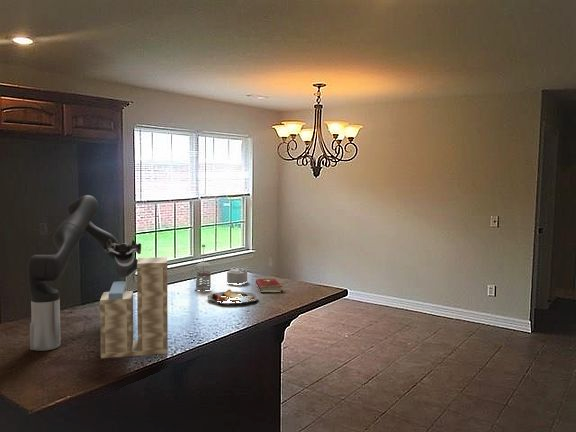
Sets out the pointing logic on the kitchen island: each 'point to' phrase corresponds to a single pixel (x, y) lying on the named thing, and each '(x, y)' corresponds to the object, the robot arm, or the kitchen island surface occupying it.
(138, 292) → the stepped stand
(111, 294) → the blue-grey flat bar
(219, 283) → the kitchen island surface
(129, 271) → the robot arm
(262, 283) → the hardcover book
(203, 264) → the french press
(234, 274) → the lumpy-topped squat cylinder
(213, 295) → the food plate
